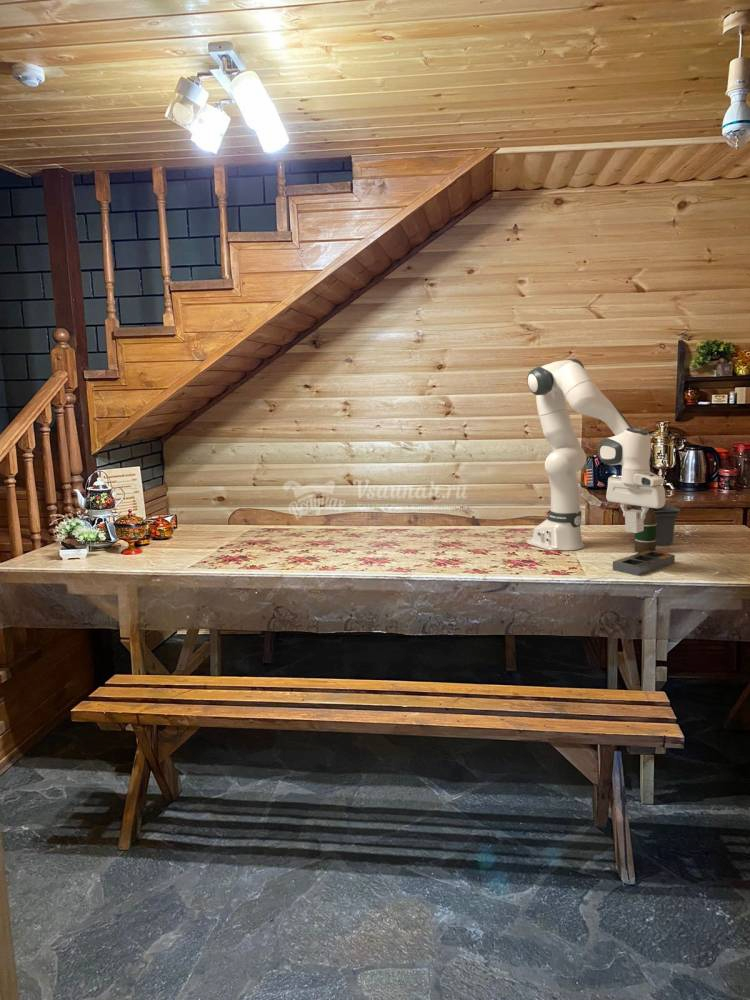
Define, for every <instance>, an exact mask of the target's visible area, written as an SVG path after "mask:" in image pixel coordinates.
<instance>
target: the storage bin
mask: <svg viewBox="0 0 750 1000" xmlns="http://www.w3.org/2000/svg"><path fill="white" fill-rule="evenodd" d="M631 509H634V510H640V509H641V506H636V505H630V510H631ZM652 510H653V512H654V513H655V515H656V518H657V532H656V547H657V546H659V547H661V546H663V547H665V546H671V545H673V542H674V533H675V532H674V531H675V525H676V520H677V519H678V517H679V516H680V513H679V512H680V511H681V509H680V508H677V507H675V506H672V505H670V504H667V503H665V505H664V506H663V507H662V508H658V509H657V508H652Z"/></svg>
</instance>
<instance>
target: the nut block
mask: <svg viewBox="0 0 750 1000" xmlns="http://www.w3.org/2000/svg"><path fill="white" fill-rule="evenodd" d="M627 510H628V509H627ZM642 511H643V510H634V509H631V508H630V509H629V510H628V511H625V517H624V521H625V522H624V525H625V532H626V533H633V534H635V533H638V532H641V531H644V522H643V520H642V519H638V517H639V516H638V514H640V513H642Z"/></svg>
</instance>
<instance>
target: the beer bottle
mask: <svg viewBox="0 0 750 1000" xmlns="http://www.w3.org/2000/svg"><path fill="white" fill-rule="evenodd" d="M640 510H642V506H641V509H640ZM643 522H644V531H641V532H638V533H634V544H633V545H634V546H633V548H634V550H633V551H634V552H635V553H637V552H638V553H640V552H643V551H647V550H651V551H657V550H656V549H657V546H656V532H657V518H656V515H655V513H654V512H653V510H652V508H650V507H649V510H648V511H647V513H646V514H645V519H643ZM638 553H637V554H638Z"/></svg>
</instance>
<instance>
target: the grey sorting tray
mask: <svg viewBox="0 0 750 1000" xmlns="http://www.w3.org/2000/svg"><path fill="white" fill-rule="evenodd" d="M675 557H676V556H675V554H672V553H668V552H662V551H657V550H656V551H651V550H647V551H643V552H640V553H636V554H635V553H634V554H632V555H629V556H626V557H622V558H620V559H616V560H614V561H612V571H614V572H620V573H623V574H629V575H632V576H633V575H634V576H637V577H640V576H643V575H646V574H649V573H651V572H654V571H657V570H659V569H662V568H665V567H668V566H671V565H674V564H676V563H675V562H676V561H675V560H676V559H675Z"/></svg>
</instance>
